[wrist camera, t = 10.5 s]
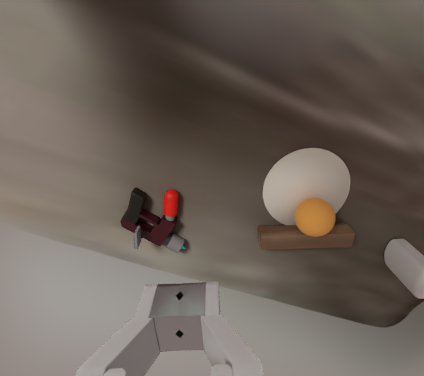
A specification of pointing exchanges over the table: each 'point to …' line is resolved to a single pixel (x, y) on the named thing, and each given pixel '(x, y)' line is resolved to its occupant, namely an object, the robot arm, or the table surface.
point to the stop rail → (303, 237)
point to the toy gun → (153, 221)
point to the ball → (314, 217)
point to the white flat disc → (305, 182)
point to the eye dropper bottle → (406, 265)
